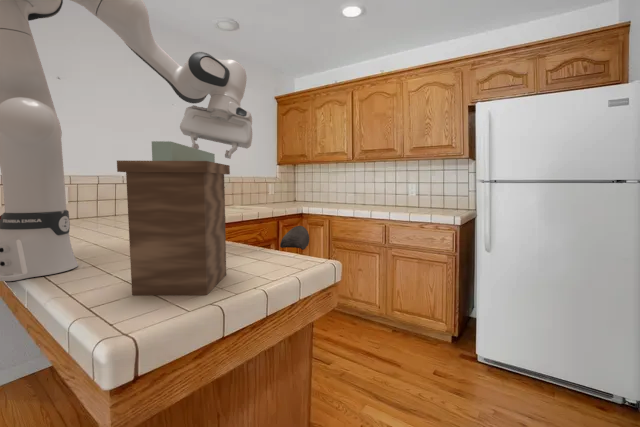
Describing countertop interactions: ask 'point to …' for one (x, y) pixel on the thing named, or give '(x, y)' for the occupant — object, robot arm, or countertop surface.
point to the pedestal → (176, 226)
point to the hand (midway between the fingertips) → (211, 154)
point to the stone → (296, 238)
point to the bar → (178, 152)
